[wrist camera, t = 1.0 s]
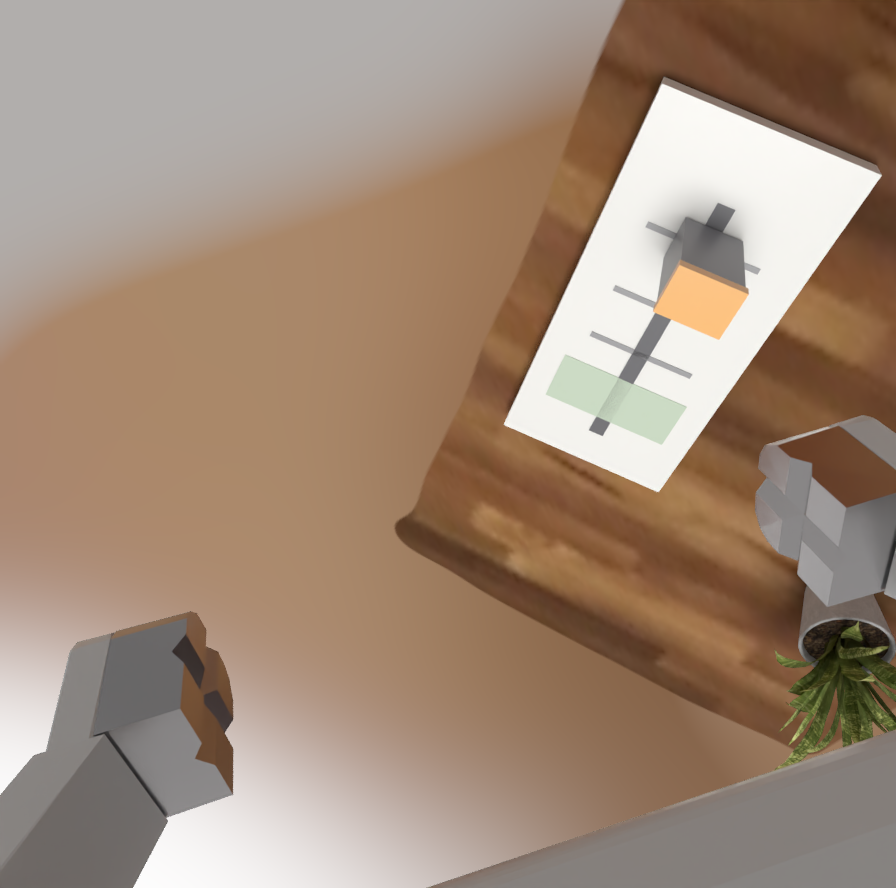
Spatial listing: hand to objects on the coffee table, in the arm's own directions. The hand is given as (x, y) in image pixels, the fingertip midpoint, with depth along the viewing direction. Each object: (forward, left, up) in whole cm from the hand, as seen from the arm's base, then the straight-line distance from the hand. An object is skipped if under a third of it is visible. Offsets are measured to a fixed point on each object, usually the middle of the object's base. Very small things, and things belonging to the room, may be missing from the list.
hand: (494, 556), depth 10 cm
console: (+16, +8, -45) cm, 48 cm away
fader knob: (+10, +8, -42) cm, 44 cm away
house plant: (+35, +34, -45) cm, 66 cm away
